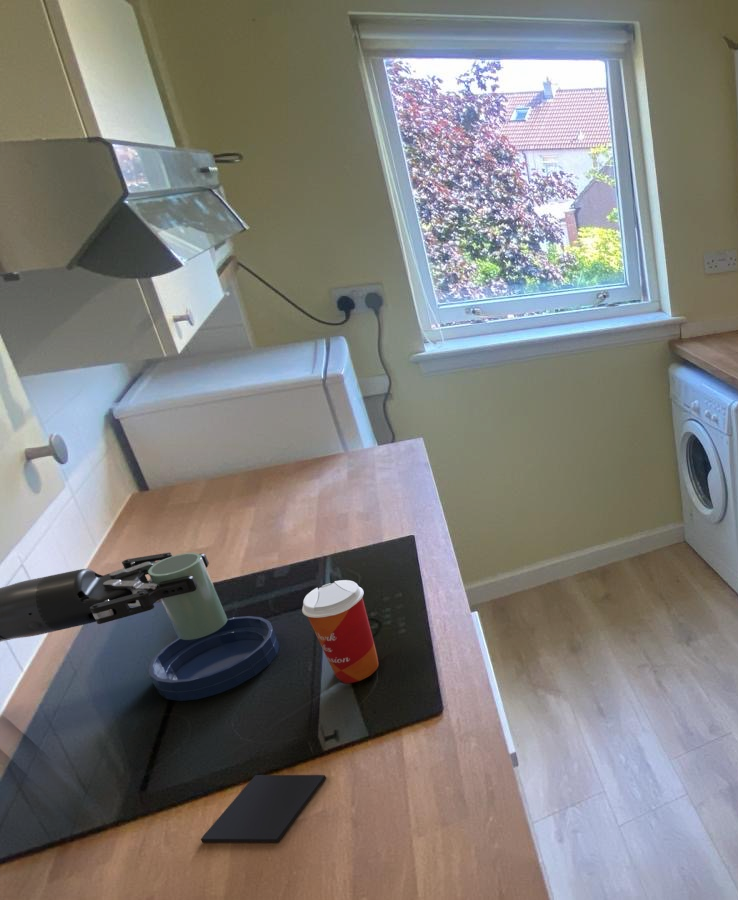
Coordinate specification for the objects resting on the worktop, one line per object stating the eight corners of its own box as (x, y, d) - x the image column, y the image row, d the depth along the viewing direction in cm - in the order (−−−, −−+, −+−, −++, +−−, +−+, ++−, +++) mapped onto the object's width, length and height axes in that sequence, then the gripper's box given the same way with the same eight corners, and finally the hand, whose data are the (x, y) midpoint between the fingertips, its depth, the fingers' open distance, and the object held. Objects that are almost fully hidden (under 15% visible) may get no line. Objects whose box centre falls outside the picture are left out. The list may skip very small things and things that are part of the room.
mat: (202, 842, 84) (200, 839, 84) (256, 778, 92) (255, 774, 92) (278, 842, 84) (276, 839, 83) (326, 778, 92) (325, 774, 92)
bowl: (189, 717, 102) (178, 695, 101) (140, 682, 109) (129, 661, 107) (300, 654, 114) (292, 633, 112) (249, 626, 121) (241, 606, 119)
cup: (189, 644, 104) (159, 579, 100) (169, 632, 107) (139, 568, 103) (235, 621, 109) (209, 558, 105) (215, 610, 112) (188, 548, 107)
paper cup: (323, 669, 110) (294, 592, 105) (379, 646, 115) (354, 571, 109) (335, 696, 105) (305, 617, 99) (393, 671, 110) (367, 593, 104)
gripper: (12, 609, 91) (177, 573, 98) (59, 555, 103) (203, 526, 110) (39, 657, 94) (198, 619, 101) (82, 599, 106) (221, 568, 113)
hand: (200, 571), depth 105 cm, fingers closed on cup, 6 cm apart
